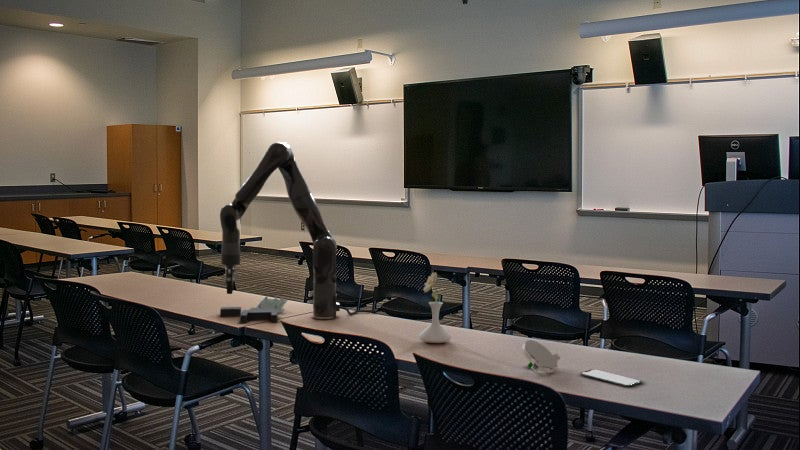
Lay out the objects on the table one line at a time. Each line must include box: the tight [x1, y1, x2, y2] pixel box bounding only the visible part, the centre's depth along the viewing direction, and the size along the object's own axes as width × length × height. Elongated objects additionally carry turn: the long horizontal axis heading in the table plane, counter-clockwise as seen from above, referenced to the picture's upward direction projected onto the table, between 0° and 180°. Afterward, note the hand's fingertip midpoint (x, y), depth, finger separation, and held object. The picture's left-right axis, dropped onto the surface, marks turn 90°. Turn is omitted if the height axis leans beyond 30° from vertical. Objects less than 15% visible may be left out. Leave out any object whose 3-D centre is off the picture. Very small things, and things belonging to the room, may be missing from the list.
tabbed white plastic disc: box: [521, 339, 562, 374], centre depth 215 cm, size 15×8×11 cm, turn 143°
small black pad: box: [219, 306, 242, 317], centre depth 294 cm, size 8×5×3 cm, turn 99°
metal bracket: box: [249, 296, 288, 315], centre depth 306 cm, size 14×6×15 cm
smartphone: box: [579, 368, 642, 387], centre depth 205 cm, size 8×1×16 cm
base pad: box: [239, 309, 278, 324], centre depth 285 cm, size 14×12×3 cm
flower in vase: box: [418, 271, 453, 344], centre depth 248 cm, size 13×11×25 cm
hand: (230, 292), depth 293 cm, fingers open, 8 cm apart
